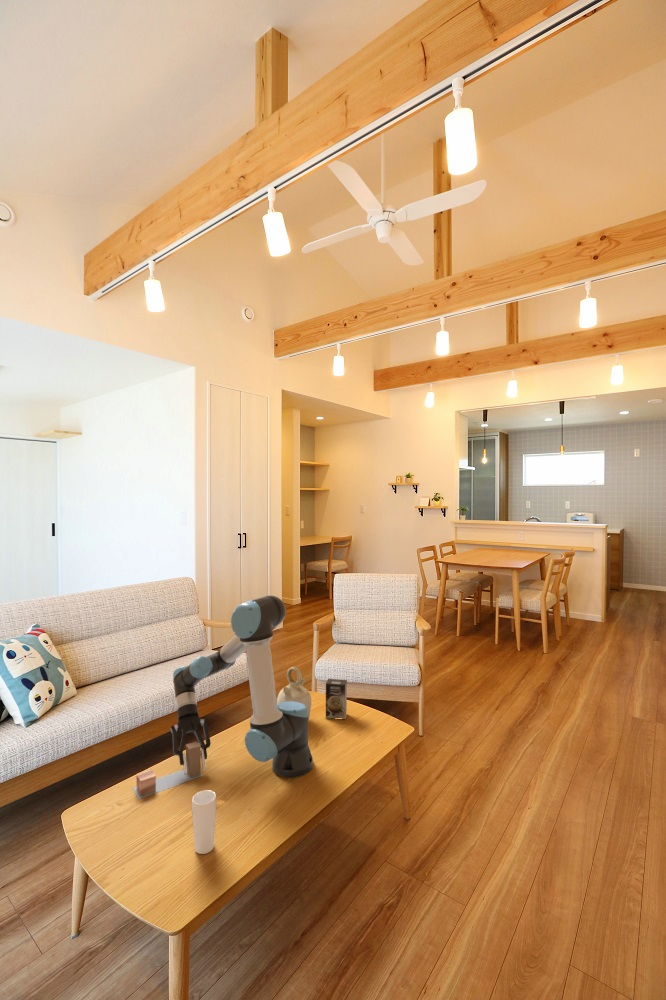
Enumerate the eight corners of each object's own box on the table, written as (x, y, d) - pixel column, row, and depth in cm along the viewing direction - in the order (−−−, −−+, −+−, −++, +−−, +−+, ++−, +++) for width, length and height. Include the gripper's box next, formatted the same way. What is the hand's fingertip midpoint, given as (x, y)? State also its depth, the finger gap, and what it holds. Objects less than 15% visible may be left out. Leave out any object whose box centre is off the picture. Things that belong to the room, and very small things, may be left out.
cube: (155, 790, 162) (155, 775, 162) (140, 795, 159) (140, 781, 159) (151, 783, 166) (151, 768, 166) (136, 788, 163) (136, 774, 163)
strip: (202, 778, 170) (202, 748, 170) (138, 802, 157) (138, 769, 157) (194, 768, 177) (194, 738, 177) (132, 790, 164) (132, 758, 164)
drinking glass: (195, 840, 140) (194, 790, 140) (218, 839, 141) (218, 789, 141) (190, 858, 134) (189, 805, 133) (214, 856, 134) (214, 804, 134)
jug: (299, 711, 222) (299, 658, 222) (318, 724, 210) (318, 668, 209) (270, 721, 213) (270, 665, 213) (288, 735, 201) (288, 676, 200)
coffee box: (325, 719, 215) (325, 683, 215) (327, 712, 221) (327, 678, 221) (345, 720, 213) (345, 684, 213) (347, 713, 220) (347, 679, 220)
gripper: (210, 706, 190) (219, 768, 176) (160, 716, 182) (166, 782, 167) (212, 698, 185) (223, 761, 171) (162, 708, 177) (168, 775, 163)
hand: (195, 771), depth 169 cm, fingers open, 6 cm apart
